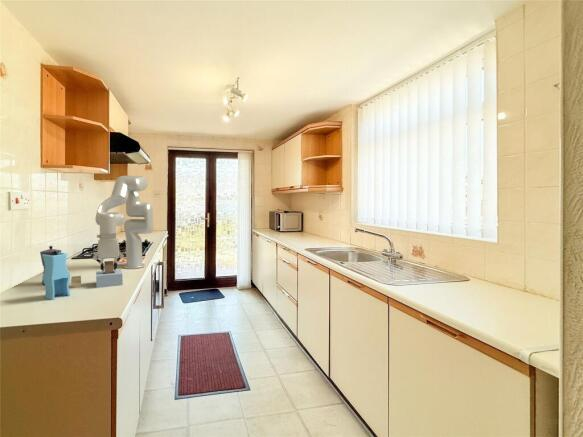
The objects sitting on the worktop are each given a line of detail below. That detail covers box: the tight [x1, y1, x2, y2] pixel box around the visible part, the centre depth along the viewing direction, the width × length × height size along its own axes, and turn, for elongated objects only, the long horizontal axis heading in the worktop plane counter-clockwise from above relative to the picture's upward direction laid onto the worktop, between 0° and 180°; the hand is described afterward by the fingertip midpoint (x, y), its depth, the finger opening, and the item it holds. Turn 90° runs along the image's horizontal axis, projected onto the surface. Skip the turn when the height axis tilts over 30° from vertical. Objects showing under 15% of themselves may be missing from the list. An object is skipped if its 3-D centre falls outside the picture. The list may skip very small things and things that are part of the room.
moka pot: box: [39, 245, 62, 285], centre depth 181 cm, size 10×15×20 cm, turn 55°
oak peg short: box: [70, 275, 82, 289], centre depth 176 cm, size 4×4×5 cm
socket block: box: [95, 268, 124, 289], centre depth 182 cm, size 12×12×6 cm
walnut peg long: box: [103, 260, 114, 274], centre depth 182 cm, size 4×4×12 cm
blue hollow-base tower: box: [42, 251, 71, 301], centre depth 158 cm, size 8×8×20 cm
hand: (108, 270), depth 182 cm, fingers open, 5 cm apart
